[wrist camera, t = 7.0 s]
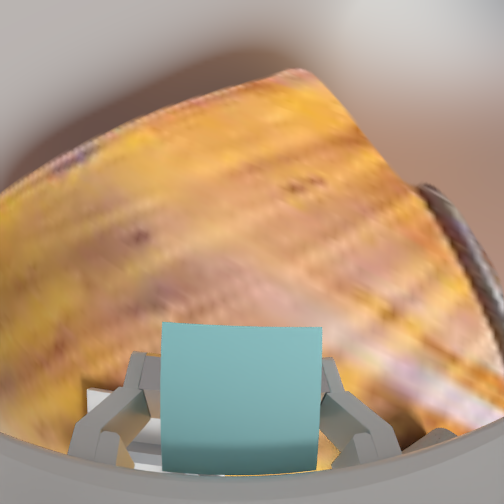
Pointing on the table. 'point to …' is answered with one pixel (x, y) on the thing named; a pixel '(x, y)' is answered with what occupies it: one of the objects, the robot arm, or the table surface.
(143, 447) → the housing plate
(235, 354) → the block
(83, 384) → the table surface
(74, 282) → the table surface
